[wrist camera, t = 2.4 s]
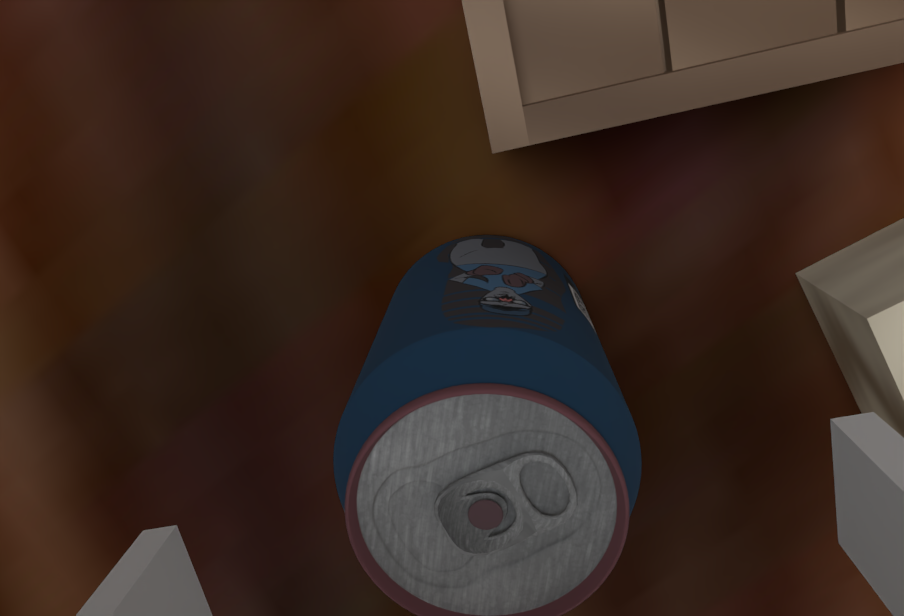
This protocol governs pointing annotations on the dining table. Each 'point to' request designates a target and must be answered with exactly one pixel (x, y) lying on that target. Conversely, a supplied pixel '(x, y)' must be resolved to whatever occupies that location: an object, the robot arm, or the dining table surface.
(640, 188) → the dining table surface
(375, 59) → the dining table surface
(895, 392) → the beech block
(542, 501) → the soda can
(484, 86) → the wooden crate
